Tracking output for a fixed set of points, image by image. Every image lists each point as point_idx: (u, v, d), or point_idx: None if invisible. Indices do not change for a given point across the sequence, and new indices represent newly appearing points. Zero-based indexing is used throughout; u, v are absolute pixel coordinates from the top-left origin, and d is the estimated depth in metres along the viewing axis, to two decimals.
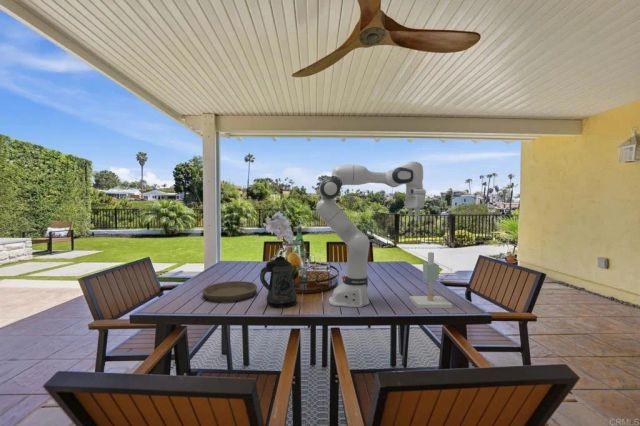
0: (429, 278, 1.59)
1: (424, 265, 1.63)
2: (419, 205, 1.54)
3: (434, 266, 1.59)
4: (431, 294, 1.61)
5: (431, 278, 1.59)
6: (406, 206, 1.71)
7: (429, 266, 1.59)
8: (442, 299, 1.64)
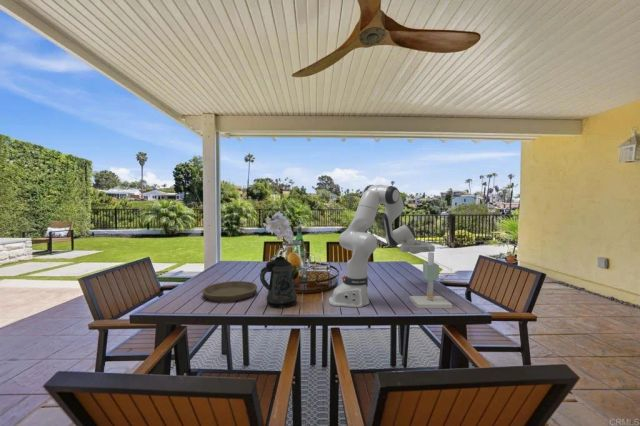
0: (429, 278, 1.59)
1: (424, 265, 1.63)
2: None
3: (434, 266, 1.59)
4: (431, 294, 1.61)
5: (431, 278, 1.59)
6: (407, 246, 1.82)
7: (429, 266, 1.59)
8: (442, 299, 1.64)
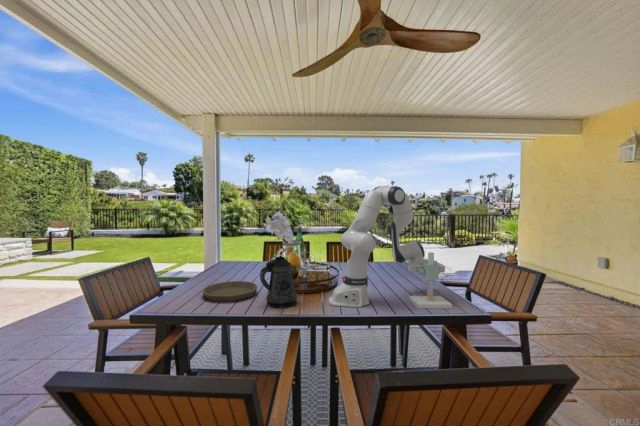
0: (429, 278, 1.59)
1: (424, 265, 1.63)
2: None
3: (434, 266, 1.59)
4: (431, 294, 1.61)
5: (431, 278, 1.59)
6: (416, 265, 1.67)
7: (429, 266, 1.59)
8: (442, 299, 1.64)
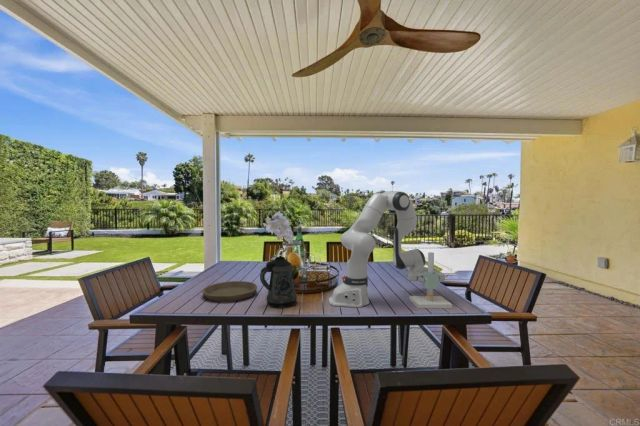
0: (429, 287, 1.60)
1: (424, 274, 1.63)
2: None
3: (434, 275, 1.59)
4: (431, 294, 1.61)
5: (431, 287, 1.60)
6: (415, 274, 1.67)
7: (429, 275, 1.59)
8: (442, 299, 1.64)
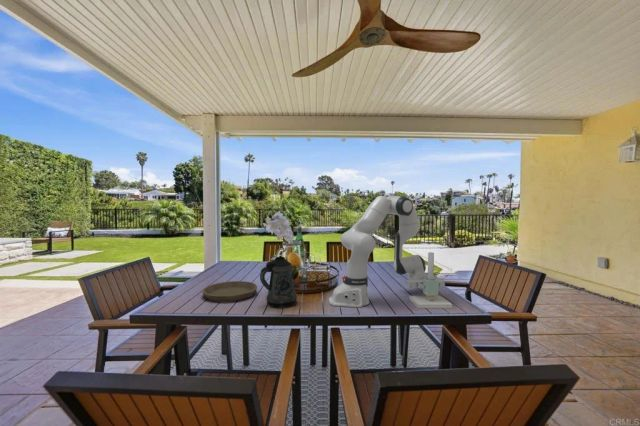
0: (429, 294, 1.60)
1: (424, 280, 1.64)
2: None
3: (434, 282, 1.60)
4: None
5: (431, 294, 1.60)
6: (415, 281, 1.67)
7: (429, 282, 1.59)
8: (442, 299, 1.64)
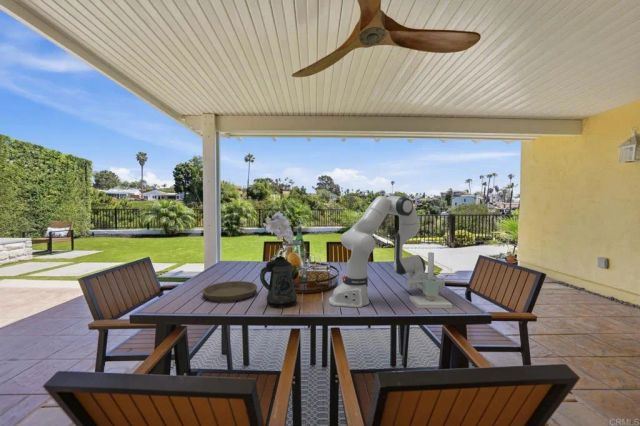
0: (429, 295, 1.60)
1: (424, 281, 1.64)
2: None
3: (434, 282, 1.60)
4: None
5: (431, 294, 1.60)
6: (415, 281, 1.67)
7: (429, 282, 1.59)
8: (442, 299, 1.64)
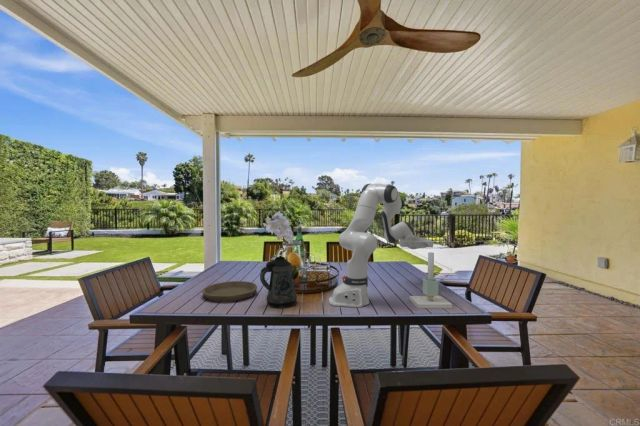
0: (429, 295, 1.60)
1: (424, 281, 1.64)
2: None
3: (434, 282, 1.60)
4: None
5: (431, 294, 1.60)
6: (406, 241, 1.84)
7: (429, 282, 1.59)
8: (442, 299, 1.64)
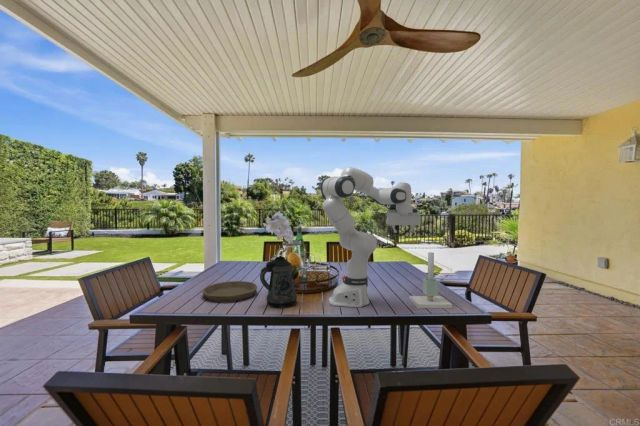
0: (429, 295, 1.60)
1: (424, 281, 1.64)
2: None
3: (434, 282, 1.60)
4: None
5: (431, 294, 1.60)
6: (393, 223, 1.77)
7: (429, 282, 1.59)
8: (442, 299, 1.64)
